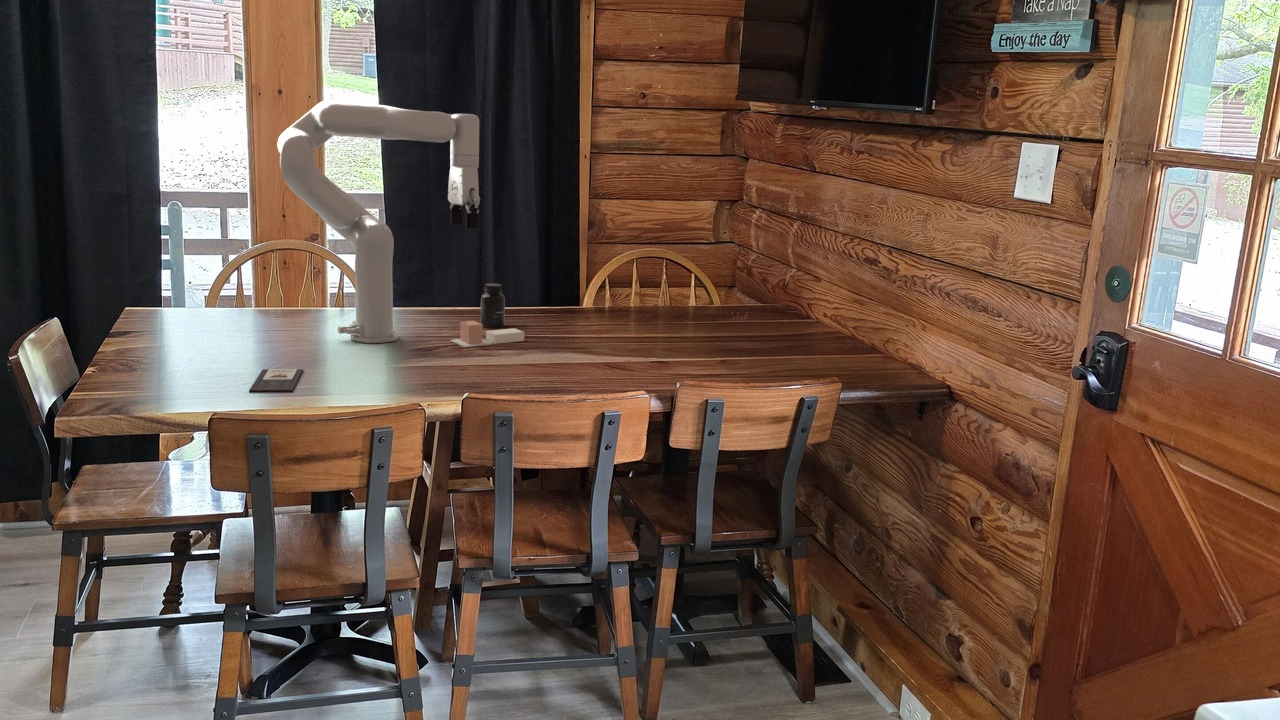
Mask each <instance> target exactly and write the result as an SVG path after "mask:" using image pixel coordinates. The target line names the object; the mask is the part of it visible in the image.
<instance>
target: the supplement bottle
mask: <svg viewBox="0 0 1280 720" xmlns="http://www.w3.org/2000/svg"><path fill="white" fill-rule="evenodd" d="M502 286H503V285H502V284H501V283H485V284H484V293H483V294H481V297H480V323H481V324H483V328H490V329H494V328H495V329H496V328H503V327H504V325H505V310H506V304H505V303H506V298H505V295H504V294H503V293H502V291H503V290H502V288H503V287H502Z"/></svg>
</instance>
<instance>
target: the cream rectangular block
mask: <svg viewBox="0 0 1280 720" xmlns="http://www.w3.org/2000/svg"><path fill="white" fill-rule="evenodd" d="M485 340H486V341H488V342H490V343H492V344H494V345H495V344H496V345H498V344H506V343H507V344H508V343H515V342H516V343H517V342H524V341H525V331H523V330H521V329H519V328H516V327H514V328H513V327H511V328H502V329H494V330H492V329H491V330H485Z"/></svg>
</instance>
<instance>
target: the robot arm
mask: <svg viewBox="0 0 1280 720" xmlns="http://www.w3.org/2000/svg"><path fill="white" fill-rule="evenodd" d="M333 136H336V137H349V138H364V139H366V138H367V139H376V140H387V141H388V140H389V141H391V140H392V141H393V140H394V141H395V140H404V141H405V140H406V141H416V142H417V141H419V142H428V143H429V142H432V143H446V142H449V143H450V144H449V153H450V154H449V162H450V163H449V166H450V169H449V175H448V186H447V187H448V189H447V200H448V202H449V203H450V205H449V209H450V224H452V225H461V224H463V208H462V207H463V206H464V205H465V206H464V207H465V209H466V213H465V228H466V229H478V227H479V226H478V222H479V214H478V213H479V212H480V211H479V209H480V202H481V197H480V195H479V189H480V188H479V172H478V168H480V166H479V164H480V163H479V162H480V161H479V159H480V118H479V116H478V115H476V114H473V113H472V114H471V113H453V114H452V113H446V112H444V111H443V112H442V111H425V110H414V109H406V108H399V107H395V106H392V105H391V106H390V105H384V104H375V103H374V104H373V103H363V102H361V103H360V102H353V101H352V102H349V101H337V100H323V101H320V102H319V103H317V104H316V105H314V107H312V108H310V110H309V111H308V112H306V113H305V114H304V115H303V116H302V117H300V118H299V119H298V120H296V121H295V122H294V123H293V124H291V125H290V126H289V127H287V128H286V129H285V130H284V131H283V132H282V133H281V134H280V135H279V137H278V139H277V149H278V153H279V154H280V156H279V167H280V172H281V175H282V178H283V180H284V182H285V184H286V185H287V187H288V188H289V189H290V191H292V192H293V194H295V195H296V196H297V197H298V199H300V200H301V201H303V203H304V204H306V205H307V206H308V207H309V208H311V209H312V211H314V212H316V213H317V215H318V216H319V218H320V219H321V220H322V221H323V222H324V223H325V224H326V225H328V226H329V227H330V228H332V229H333V230H334V231H336V233H338V235H340V236H341V237H343V238H344V239H345V240H346V241H348V242H349V243H350V244H351V245H352V246H353V247H355V257H354V258H355V260H354V281H355V282H354V283H355V284H354V285H355V320H353V321H352V323H350V324H349V325H340V326H338V327H337V333H338V334H346V335H350V336H349V337H350V339H351V341H353V342H356V343H357V342H358V343H364V344H384V343H391V342H395V341H398V340H399V339H400V334H399V332H397V331H395V330H394V311H393V310H394V306H393V305H394V304H393V303H394V301H393V299H394V294H393V293H394V291H393V285H394V284H393V258H394V257H393V256H394V249H395V247H394V246H395V243H394V242H395V241H394V236H393V233H392V230H391V229H390V227H389V226H388V225H387V224H386V223H385V222H383V221H382V220H381V219H378V218H377V217H376V216H374V215H373V214H372V213H370V211H368V210H367V209H366V208H365V207H363V205H361V204H360V203H359V202H357V200H355V198H354V197H353V196H352V195H351V194H350V193H348V192H346V191H345V190H343V189H341V188H340V187H339V186H338V185H336V184H335V183H334V182H333V181H332V180H330V178H328V176H326V174H324V173H323V172H322V171H321V170H320V169H319V168H318V166H317V164H316V161H315V160H316V159H315V157H316V153H317V150H318V149H320V147H321V146H323V145H324V144H325V143H327V142H328V141H329V140H330V139H331V138H333Z"/></svg>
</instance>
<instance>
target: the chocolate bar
mask: <svg viewBox="0 0 1280 720" xmlns="http://www.w3.org/2000/svg"><path fill="white" fill-rule="evenodd" d="M303 374H304V369H303V368H286V369H285V368H278V369H277V368H273V369H272V368H270V369H269V368H265V369H262V370H261V371H260V373H259V375H258V376H257V377H256V379H255V381H254V382H253V384H252V385H251V387H250V388H249V390H248V392H249V393H252V394H254V393H256V394H257V393H258V394H259V393H261V394H262V393H264V394H265V393H266V394H267V393H293V392H294V391H295V389H296V387H297V386H298V383H299V381H300V379H301V377H302V375H303Z"/></svg>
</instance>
